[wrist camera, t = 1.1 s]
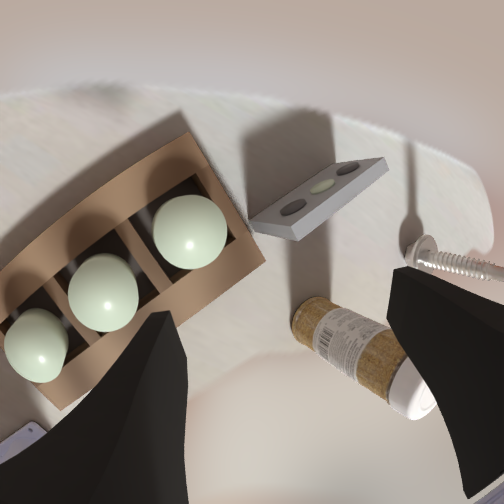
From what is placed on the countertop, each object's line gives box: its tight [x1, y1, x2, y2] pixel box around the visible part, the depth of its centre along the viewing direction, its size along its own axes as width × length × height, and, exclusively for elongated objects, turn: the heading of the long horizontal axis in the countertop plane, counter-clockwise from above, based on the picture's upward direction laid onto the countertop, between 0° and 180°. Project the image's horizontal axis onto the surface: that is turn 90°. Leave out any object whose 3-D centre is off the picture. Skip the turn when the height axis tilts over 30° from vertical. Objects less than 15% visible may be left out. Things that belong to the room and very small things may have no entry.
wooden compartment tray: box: [0, 132, 266, 411], centre depth 18 cm, size 19×10×2 cm, turn 122°
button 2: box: [4, 308, 69, 383], centre depth 14 cm, size 4×4×2 cm
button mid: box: [68, 253, 139, 332], centre depth 16 cm, size 4×4×2 cm
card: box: [249, 157, 389, 241], centre depth 21 cm, size 9×1×6 cm, turn 122°
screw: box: [404, 235, 504, 282], centre depth 24 cm, size 13×5×5 cm
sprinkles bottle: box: [292, 297, 437, 420], centre depth 20 cm, size 5×5×13 cm
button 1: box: [151, 195, 227, 269], centre depth 17 cm, size 4×4×2 cm
